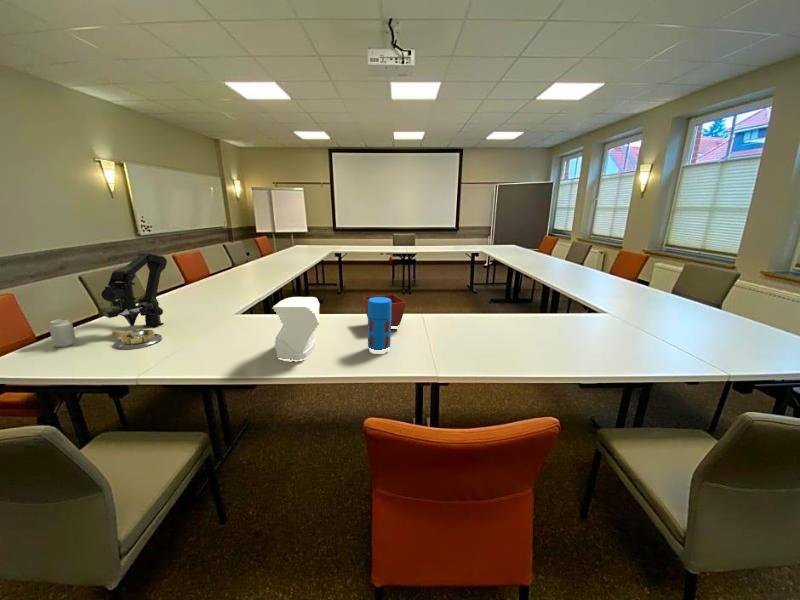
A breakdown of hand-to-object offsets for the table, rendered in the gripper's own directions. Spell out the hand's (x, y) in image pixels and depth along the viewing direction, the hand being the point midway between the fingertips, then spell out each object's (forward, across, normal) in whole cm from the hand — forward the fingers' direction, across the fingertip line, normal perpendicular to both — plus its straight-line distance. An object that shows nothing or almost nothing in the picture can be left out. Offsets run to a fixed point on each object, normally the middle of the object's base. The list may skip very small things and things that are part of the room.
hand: (132, 325), depth 165 cm
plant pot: (+5, -79, +99) cm, 127 cm away
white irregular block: (+5, -29, +86) cm, 91 cm away
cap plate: (+5, +3, +12) cm, 13 cm away
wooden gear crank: (+3, +4, +8) cm, 9 cm away
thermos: (+5, -51, +114) cm, 125 cm away
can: (+5, +22, -12) cm, 25 cm away
